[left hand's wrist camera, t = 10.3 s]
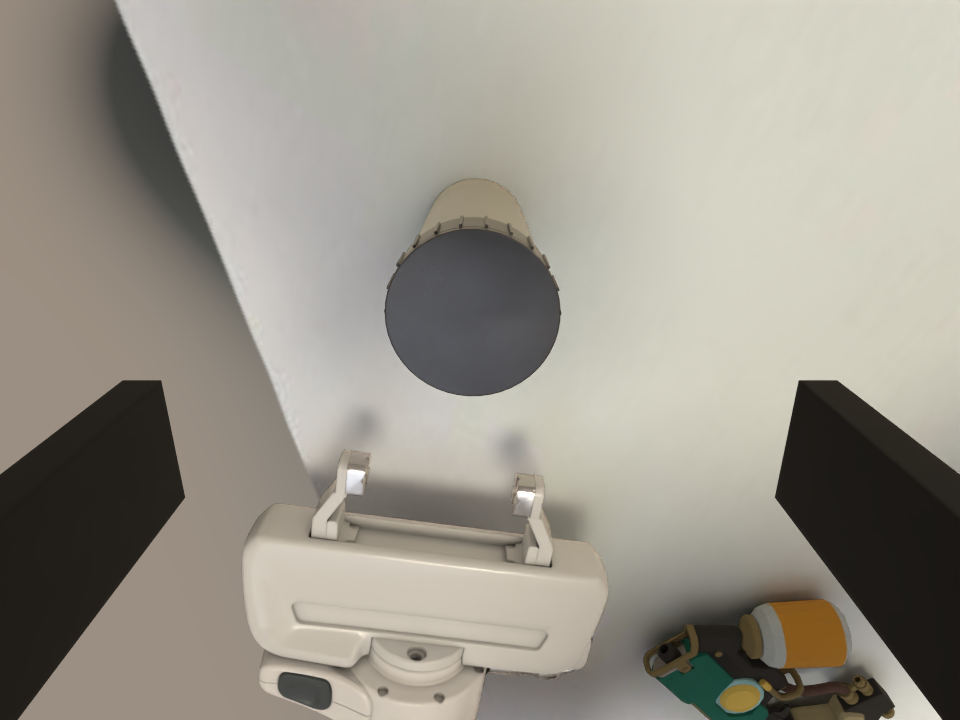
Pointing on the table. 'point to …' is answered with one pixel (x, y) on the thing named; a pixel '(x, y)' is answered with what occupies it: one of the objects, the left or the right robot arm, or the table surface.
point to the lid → (472, 307)
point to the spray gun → (767, 666)
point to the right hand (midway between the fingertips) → (443, 468)
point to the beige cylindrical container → (476, 205)
